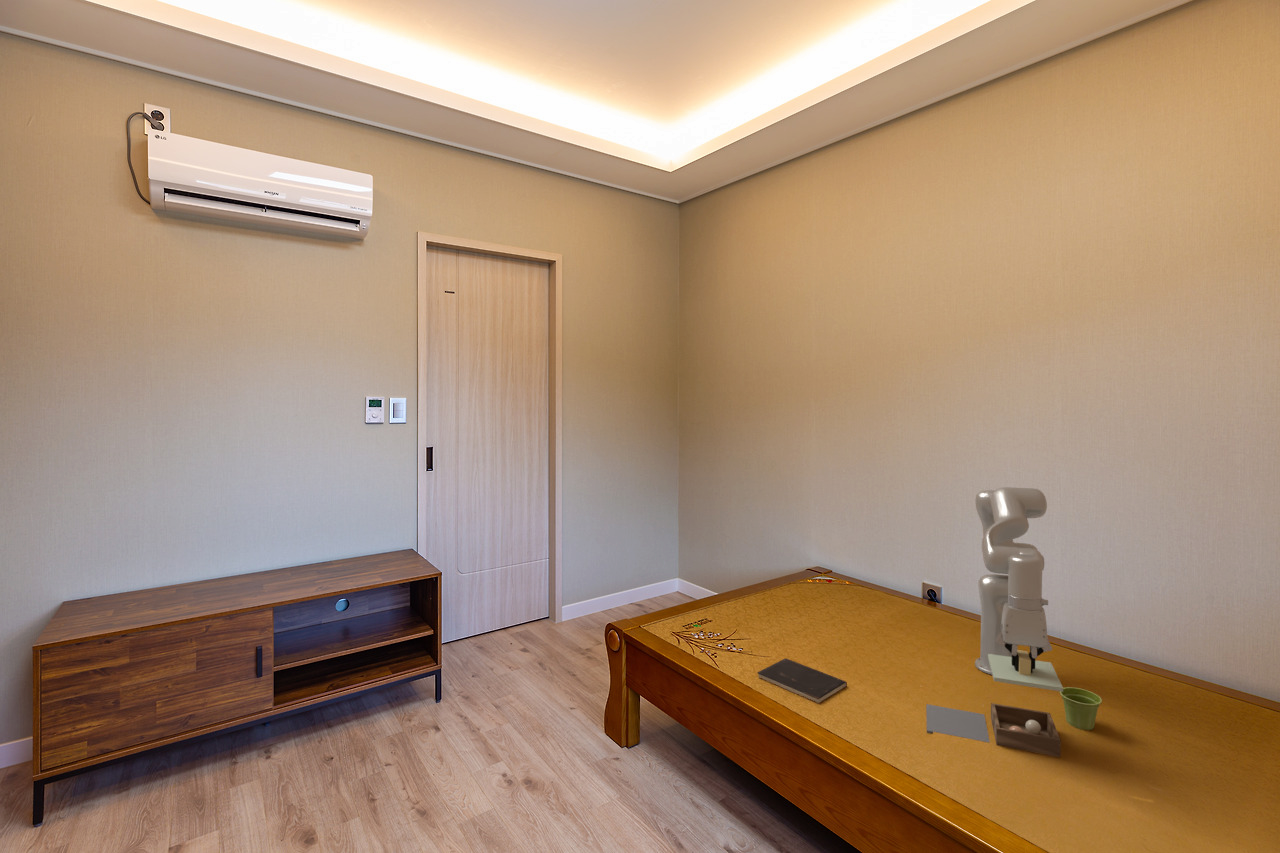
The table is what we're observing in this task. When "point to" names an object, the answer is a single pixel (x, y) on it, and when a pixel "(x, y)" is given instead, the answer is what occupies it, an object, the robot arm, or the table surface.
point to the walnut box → (1014, 716)
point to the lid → (1024, 672)
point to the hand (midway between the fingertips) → (1023, 669)
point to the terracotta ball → (1016, 728)
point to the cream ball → (1033, 727)
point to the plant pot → (1080, 707)
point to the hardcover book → (802, 680)
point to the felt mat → (956, 723)
